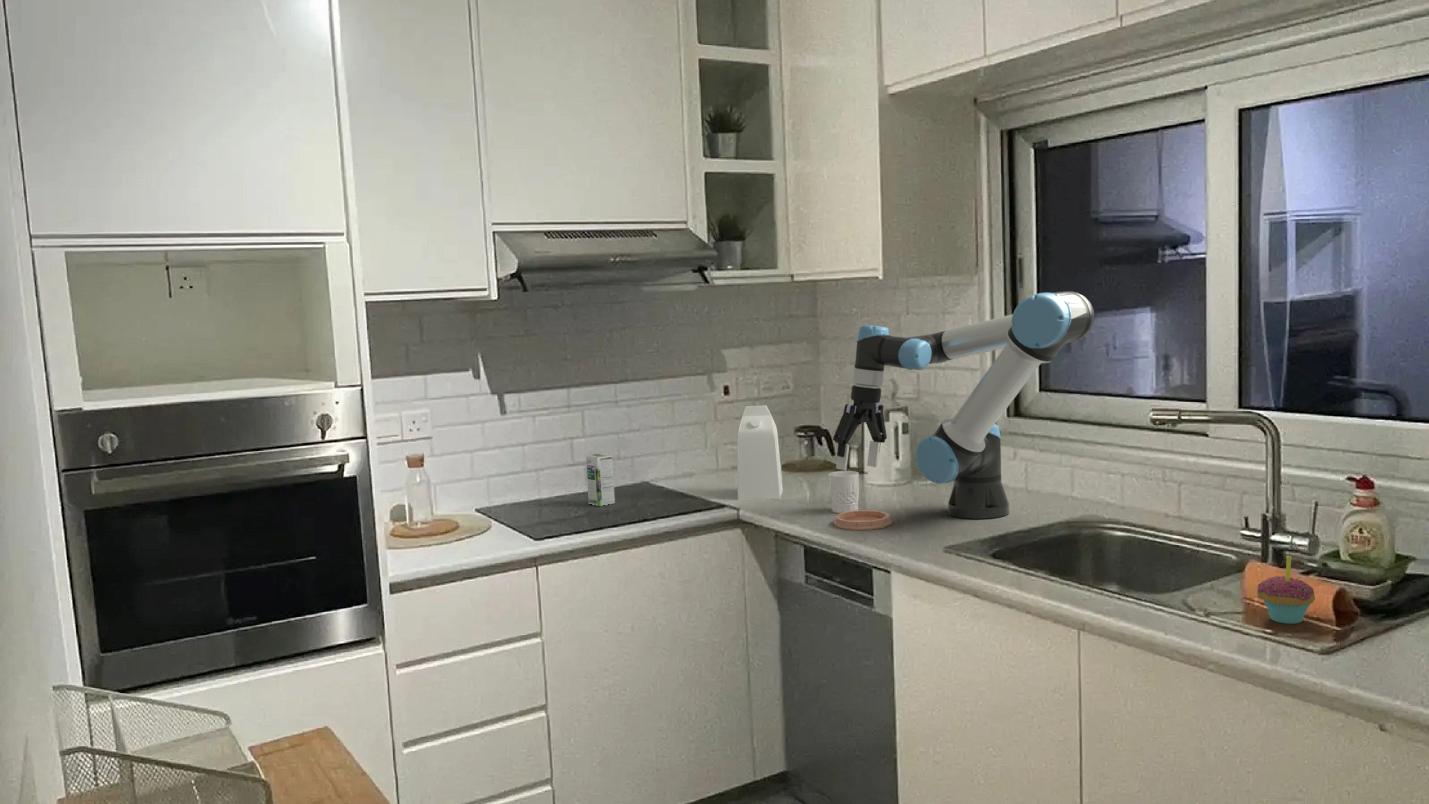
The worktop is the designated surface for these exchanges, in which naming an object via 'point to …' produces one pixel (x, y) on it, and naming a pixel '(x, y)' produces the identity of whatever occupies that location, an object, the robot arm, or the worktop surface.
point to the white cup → (844, 491)
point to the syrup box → (600, 479)
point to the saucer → (862, 520)
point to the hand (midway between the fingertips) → (856, 468)
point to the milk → (758, 455)
